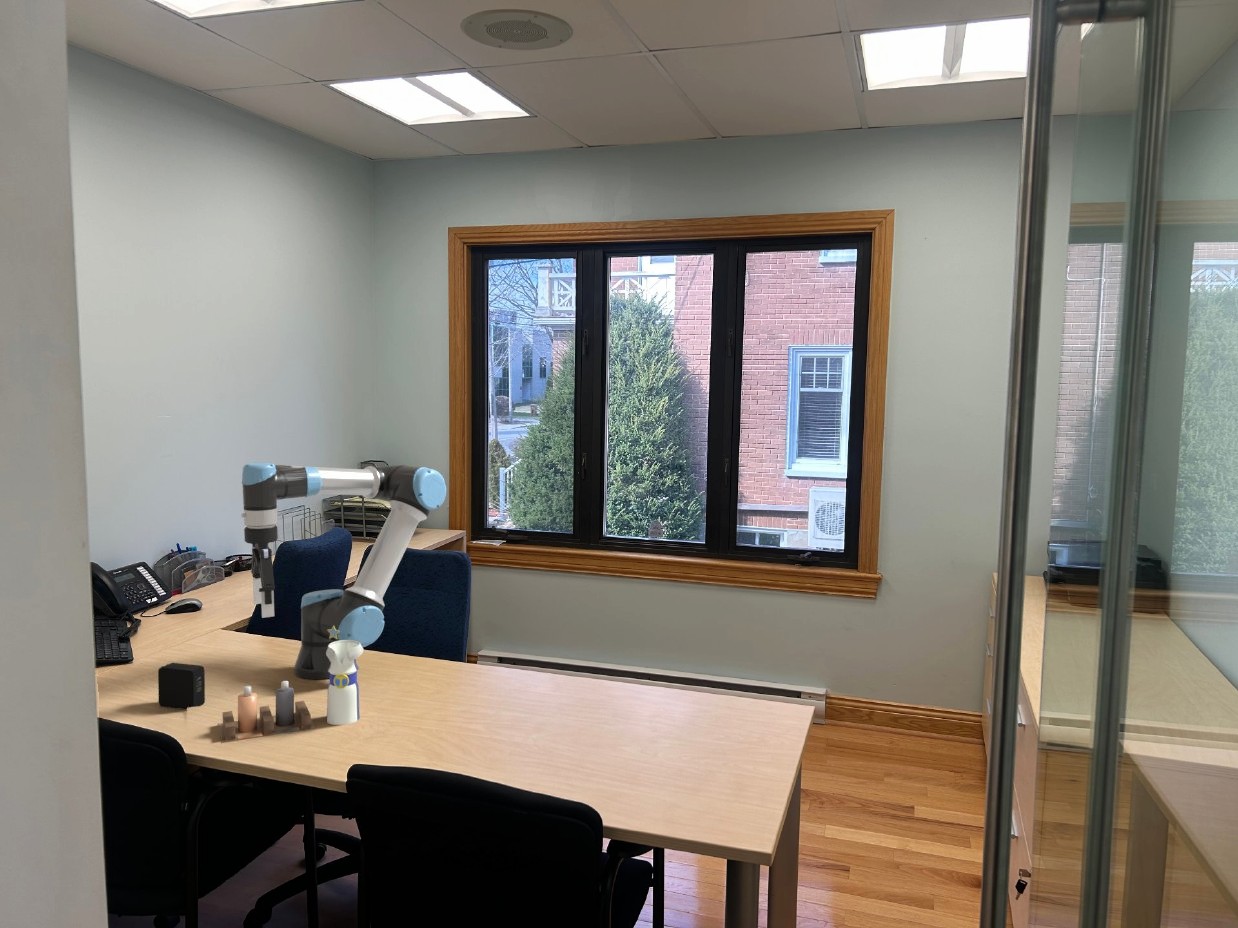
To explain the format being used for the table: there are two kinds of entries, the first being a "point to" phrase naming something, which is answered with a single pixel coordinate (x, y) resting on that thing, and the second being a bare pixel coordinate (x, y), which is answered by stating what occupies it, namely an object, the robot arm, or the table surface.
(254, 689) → the table surface
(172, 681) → the electronic device
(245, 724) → the peach bottle
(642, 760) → the table surface
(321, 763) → the table surface
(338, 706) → the white costume bottle
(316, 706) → the table surface
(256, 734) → the rack
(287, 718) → the grey bottle
